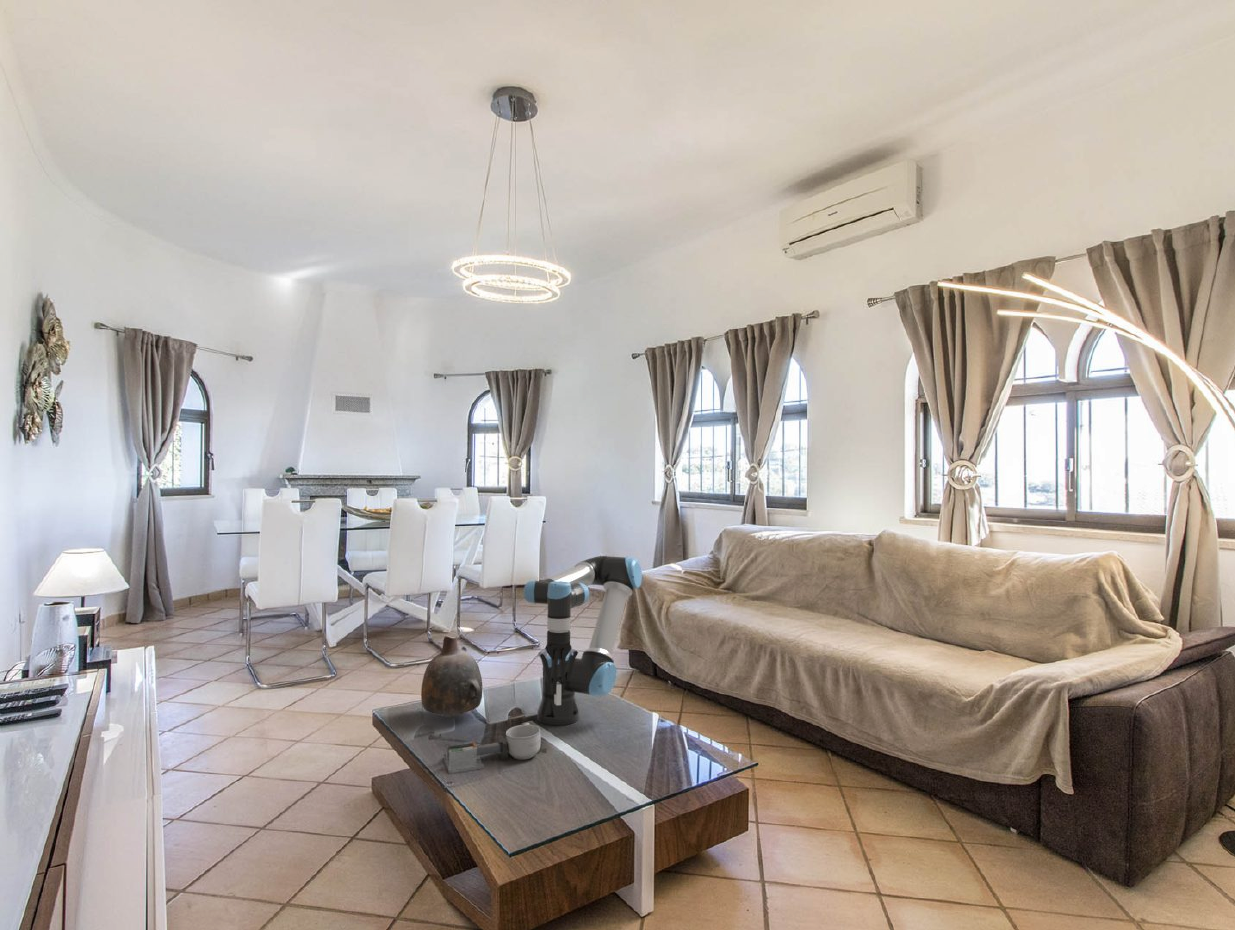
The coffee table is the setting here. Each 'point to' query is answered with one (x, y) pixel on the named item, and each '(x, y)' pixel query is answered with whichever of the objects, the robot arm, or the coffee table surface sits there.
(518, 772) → the coffee table surface
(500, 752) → the hammer
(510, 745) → the teacup
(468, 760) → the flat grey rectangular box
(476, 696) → the jug
